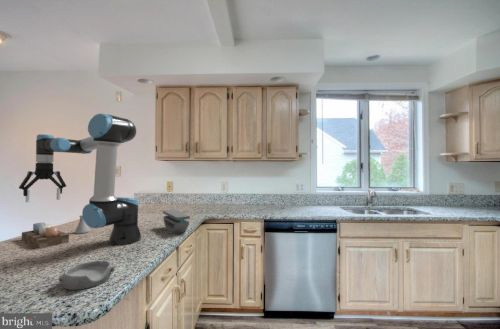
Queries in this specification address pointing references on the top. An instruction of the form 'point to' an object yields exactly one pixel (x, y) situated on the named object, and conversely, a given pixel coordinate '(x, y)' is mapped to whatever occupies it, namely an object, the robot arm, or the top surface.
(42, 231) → the off-white round ball
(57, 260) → the top surface
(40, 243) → the wooden egg tray
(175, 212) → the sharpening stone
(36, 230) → the blue rounded lump
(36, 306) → the top surface
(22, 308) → the top surface
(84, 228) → the flask
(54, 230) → the peach orange ball
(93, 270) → the dish
